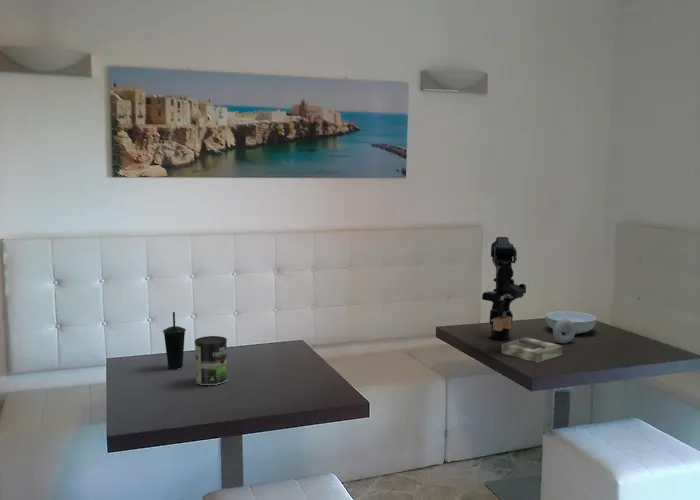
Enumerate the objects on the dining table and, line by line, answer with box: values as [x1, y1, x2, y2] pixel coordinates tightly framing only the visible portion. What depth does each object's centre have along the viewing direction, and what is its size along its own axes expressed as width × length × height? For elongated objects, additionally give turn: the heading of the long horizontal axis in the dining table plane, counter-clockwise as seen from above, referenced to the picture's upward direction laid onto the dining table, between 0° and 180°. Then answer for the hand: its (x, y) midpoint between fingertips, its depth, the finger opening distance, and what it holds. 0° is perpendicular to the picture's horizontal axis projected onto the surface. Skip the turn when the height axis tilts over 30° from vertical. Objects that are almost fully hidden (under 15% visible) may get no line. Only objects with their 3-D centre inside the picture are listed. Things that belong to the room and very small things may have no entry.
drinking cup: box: [162, 311, 187, 370], centre depth 231 cm, size 8×8×20 cm
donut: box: [552, 319, 576, 344], centre depth 265 cm, size 10×4×10 cm, turn 108°
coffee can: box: [194, 335, 228, 387], centre depth 217 cm, size 10×10×14 cm
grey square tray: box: [500, 336, 564, 364], centre depth 250 cm, size 16×16×5 cm
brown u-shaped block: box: [492, 311, 513, 331], centre depth 256 cm, size 3×8×7 cm, turn 130°
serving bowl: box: [544, 310, 598, 335], centre depth 284 cm, size 21×21×7 cm
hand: (502, 316), depth 256 cm, fingers closed on brown u-shaped block, 2 cm apart
